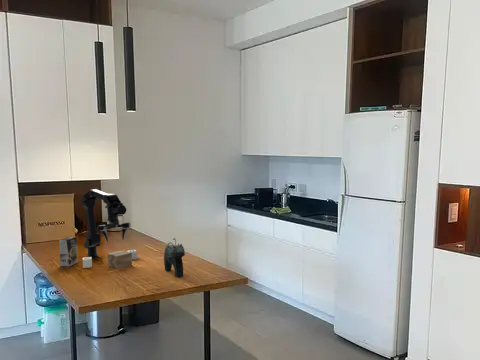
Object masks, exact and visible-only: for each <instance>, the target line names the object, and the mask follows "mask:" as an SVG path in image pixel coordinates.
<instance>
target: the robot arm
mask: <svg viewBox="0 0 480 360" xmlns="http://www.w3.org/2000/svg"><path fill="white" fill-rule="evenodd" d="M98 199H99V200H101V201H102V202H103V203H104V204H105V206H104V208H105V209H106V211H107V222H106V224H101V225H98V226H96V219H95V217H96V216H95V210H94V208H95V206H96V205H97V204H96V202H97V200H98ZM80 202H81V205H82V207H83V208H84V211H85V217H86V224H87V234H86V236H85V241H84V243H83V248H84V249H87V254H86V257H92V258H98V257H99V255H98V247H100V246H101V239H102V238H101V233H102V234H103V236H104V237H105V239H106V242H109V236H108V230H110V229H116V228H117V229H118V228H122V229H121V231H122V234H121V235H122V240H123V241H124V240H125V235H126V233H127V230H128V229H129V228H130V227H131V222H130V221H128V222H122V224H121V223H120V220H119V216H120V215H121V216H122V215H125V214H126V213H127V208H126V206H125V205H124V203H122V202H121V200H120V198H119V196H118V195H117V194H116V193H107V192H104V191H102V190H99V189H98V188H95V189H94V188H93V189H90V190H88V191H87V192H86V193H84V194H83V195H82V197H81V198H80ZM107 229H108V230H107Z"/></svg>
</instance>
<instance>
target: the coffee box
mask: <svg viewBox="0 0 480 360" xmlns="http://www.w3.org/2000/svg"><path fill="white" fill-rule="evenodd" d="M58 241H59V242H58V243H59V263H60V264H59V266H60V267H71V266H73V265H75V264H77V263H78V262H79V261H78V240H77V236H67V237H63V238H60V239H59V240H58Z"/></svg>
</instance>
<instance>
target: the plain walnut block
mask: <svg viewBox="0 0 480 360" xmlns="http://www.w3.org/2000/svg"><path fill="white" fill-rule="evenodd" d="M107 265H108V267H111V268H114V269H117V270H118V269H121V268H127V267H129V266H132V265H133V260H132V253H130V252H127V251H126V250H118V251H114V252H108V253H107Z"/></svg>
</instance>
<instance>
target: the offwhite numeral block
mask: <svg viewBox="0 0 480 360" xmlns="http://www.w3.org/2000/svg"><path fill="white" fill-rule="evenodd" d="M92 258H93V257H87V256H86V257H82V268H83V269H85V268H87V269H88V268H92V267H93V259H92Z"/></svg>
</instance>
